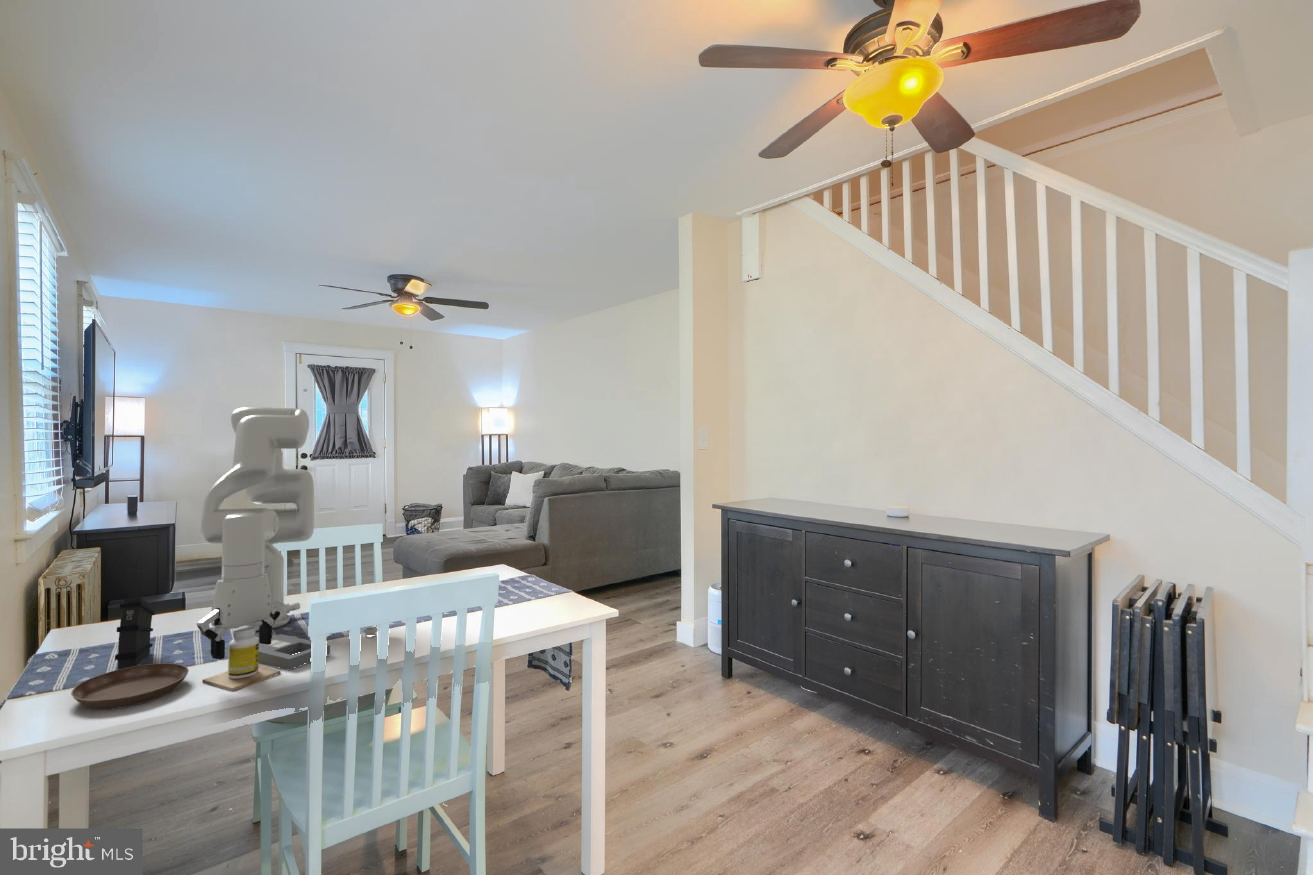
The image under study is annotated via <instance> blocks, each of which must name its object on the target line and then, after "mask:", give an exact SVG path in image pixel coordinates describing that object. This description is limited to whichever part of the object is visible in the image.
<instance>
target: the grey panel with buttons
mask: <svg viewBox="0 0 1313 875" xmlns="http://www.w3.org/2000/svg"><path fill="white" fill-rule="evenodd" d="M311 641H312V640H311V639H305V638H300V637H295V636H291V635H287V634H286V635H285V634H281V633H279V634H276V635H272V639H271V644H270V645H266V644H261V643H259V662H258V664H262V665H267V666H270V665H271V666H270V667H274V666H275V668H278V667H280V668H279V669H282V668H283V669H282V670H286V669H289V670H288V671H291V670H290V669H292V670H294V669H295V668H294V667H297V668H299V667H298V666H300V665H303V664H304V663H308V664H311V663H310V658H311ZM326 644H327V655H329V654H330V655H331V645H330V644H328V643H326ZM298 652H300V653H298ZM295 653H297V654H295ZM292 654H294V655H292ZM303 666H304V665H303ZM300 667H301V666H300ZM293 668H294V669H293Z"/></svg>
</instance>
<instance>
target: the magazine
mask: <svg viewBox="0 0 1313 875" xmlns="http://www.w3.org/2000/svg"><path fill="white" fill-rule="evenodd" d="M119 608H120V609H121V616H120V621H119V622H120V623H119V626H117V627H116V632H117V633H118V646H117V653H116V654H114V661H117V670H119V669H123V668H128V667H133V666H140V663H141V662H143V661H144V660H145V659H146V657H148V655H149V654H150V653H151V648H152V647H153V646H154V645H153V643H152V642H151V632H154V628H153V627H152V620H153V616H155V615H156V611H155V610H154V605H152V604H151V603H149V602H148V601H147V600H145V599H144V598H143V597H139V596H138V597H126V598H125V597H124V598H123V602H122V603H120V604H119Z"/></svg>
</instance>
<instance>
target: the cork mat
mask: <svg viewBox="0 0 1313 875" xmlns="http://www.w3.org/2000/svg"><path fill="white" fill-rule="evenodd" d="M279 673H280V674H281V670H279V669H274V668H270V667H267V666H264V665H263V666H262V665H259V664H258V672H257V673H256V674H255V675H252V676H249V677H246V678H240V679H233V678H229V677H228V670H227V671H224V672H222V673H221V672H220V673H219V674H215V675H213V676H209V677H206V678H203V679H202V681H201V682H202V683H203V684H207V685H209V686H210V685H211V686H212V687H213V686H214V687H217V688H221V689H223V690H226V691H231V692H234V691H236V690H239V688H240V689H241V688H245V687H247V686H250V685H253V684H256V683H258V681H259V682H261V681H264V680H267V679H269V677H270V676H272V677H275V676H277V675H276V674H278V675H280V674H279ZM274 675H275V676H274ZM266 678H267V679H266ZM270 678H271V677H270ZM263 679H264V680H263Z"/></svg>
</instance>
